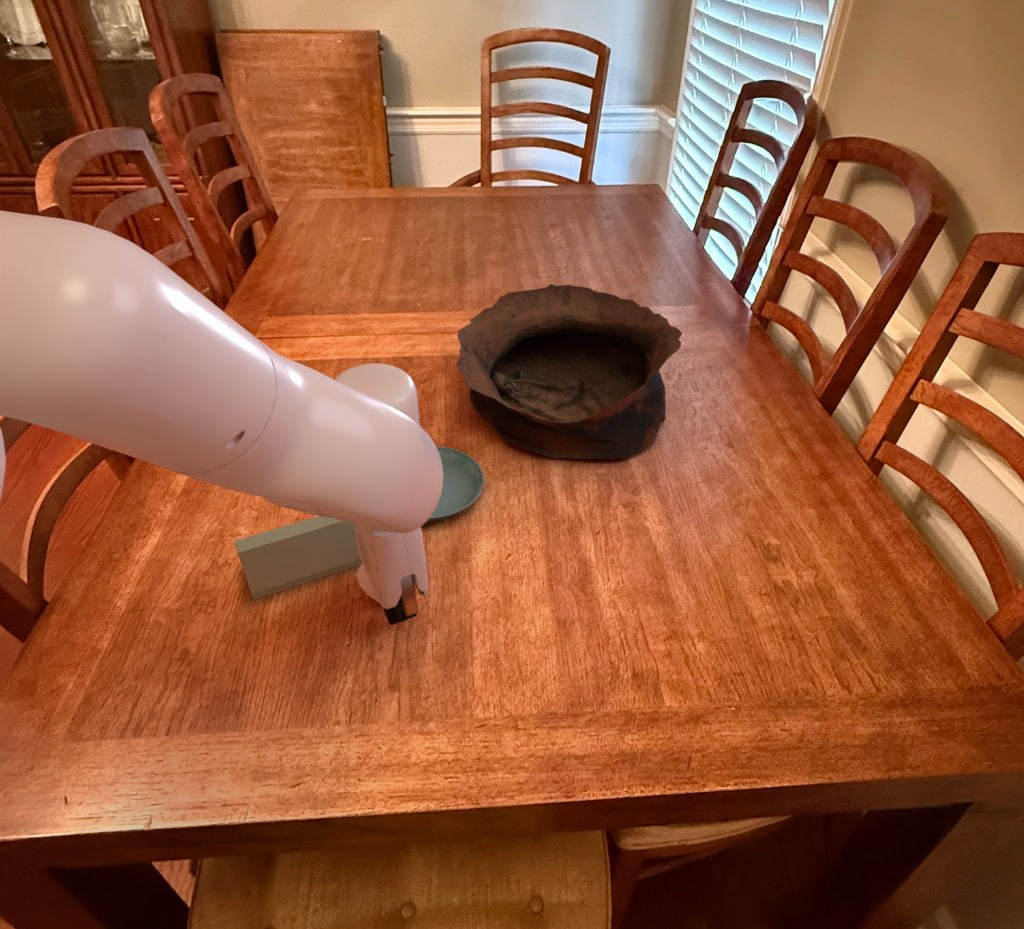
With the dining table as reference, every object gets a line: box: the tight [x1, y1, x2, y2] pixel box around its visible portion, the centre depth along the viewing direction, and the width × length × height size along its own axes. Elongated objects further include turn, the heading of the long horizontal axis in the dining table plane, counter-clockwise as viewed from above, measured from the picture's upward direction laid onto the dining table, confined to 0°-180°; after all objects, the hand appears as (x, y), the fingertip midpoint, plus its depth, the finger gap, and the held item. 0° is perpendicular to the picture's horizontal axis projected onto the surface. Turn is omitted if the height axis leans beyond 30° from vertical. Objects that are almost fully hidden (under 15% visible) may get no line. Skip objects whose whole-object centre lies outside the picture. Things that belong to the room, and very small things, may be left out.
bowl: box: [455, 283, 683, 461], centre depth 107 cm, size 34×33×15 cm
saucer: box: [427, 445, 485, 522], centre depth 94 cm, size 15×15×3 cm
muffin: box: [356, 564, 380, 604], centre depth 79 cm, size 6×6×7 cm
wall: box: [234, 515, 362, 601], centre depth 82 cm, size 18×5×8 cm, turn 116°
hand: (400, 615), depth 76 cm, fingers closed
